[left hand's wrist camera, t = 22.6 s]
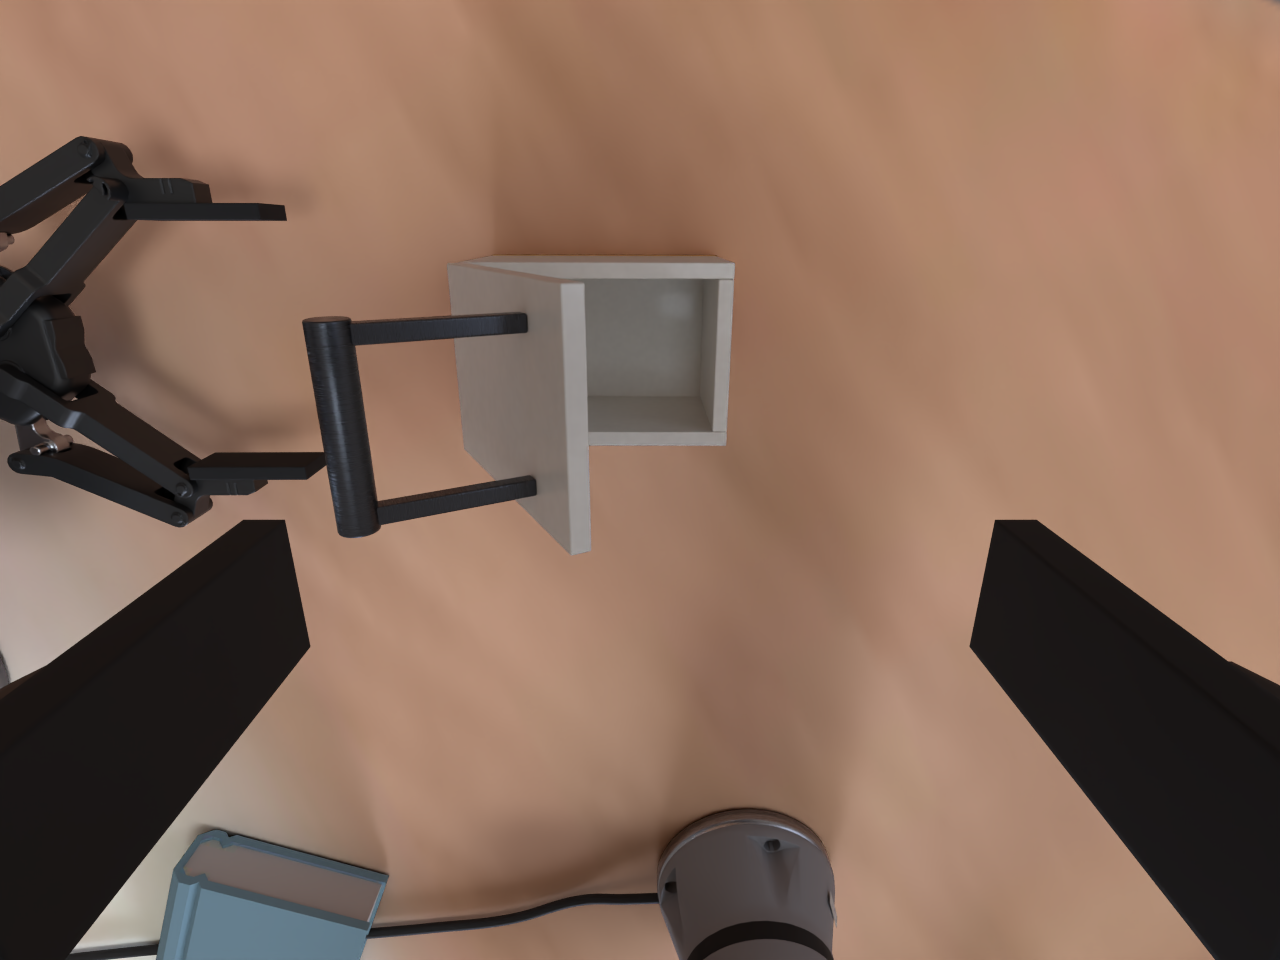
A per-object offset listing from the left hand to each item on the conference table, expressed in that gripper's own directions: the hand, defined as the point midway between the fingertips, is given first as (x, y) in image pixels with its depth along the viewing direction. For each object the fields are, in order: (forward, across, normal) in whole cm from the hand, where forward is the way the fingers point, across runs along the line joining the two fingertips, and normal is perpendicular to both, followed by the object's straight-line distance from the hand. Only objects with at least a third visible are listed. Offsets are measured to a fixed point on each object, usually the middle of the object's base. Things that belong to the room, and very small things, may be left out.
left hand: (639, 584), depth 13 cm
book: (+33, +34, +55) cm, 73 cm away
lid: (+17, +5, 0) cm, 18 cm away
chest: (+33, +2, 0) cm, 33 cm away
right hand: (+26, +19, 0) cm, 32 cm away
